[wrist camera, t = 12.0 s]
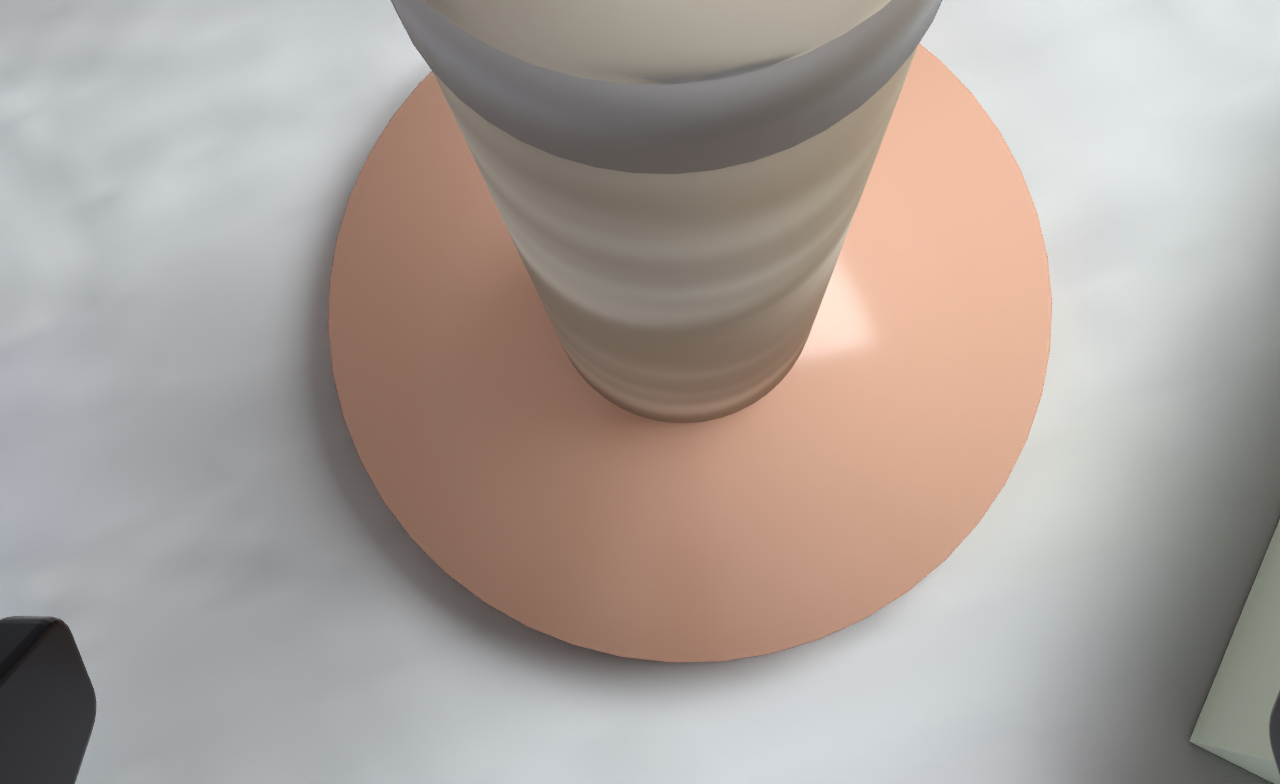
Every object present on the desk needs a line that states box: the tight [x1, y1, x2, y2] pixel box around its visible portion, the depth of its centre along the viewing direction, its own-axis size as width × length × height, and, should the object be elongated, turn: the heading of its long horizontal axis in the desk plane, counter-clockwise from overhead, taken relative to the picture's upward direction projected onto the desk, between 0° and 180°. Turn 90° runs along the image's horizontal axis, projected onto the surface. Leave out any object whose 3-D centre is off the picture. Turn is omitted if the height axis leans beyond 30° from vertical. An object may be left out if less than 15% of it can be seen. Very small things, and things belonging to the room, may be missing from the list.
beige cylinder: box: [391, 0, 942, 423], centre depth 12 cm, size 4×4×11 cm
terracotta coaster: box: [328, 44, 1052, 663], centre depth 18 cm, size 11×11×1 cm
